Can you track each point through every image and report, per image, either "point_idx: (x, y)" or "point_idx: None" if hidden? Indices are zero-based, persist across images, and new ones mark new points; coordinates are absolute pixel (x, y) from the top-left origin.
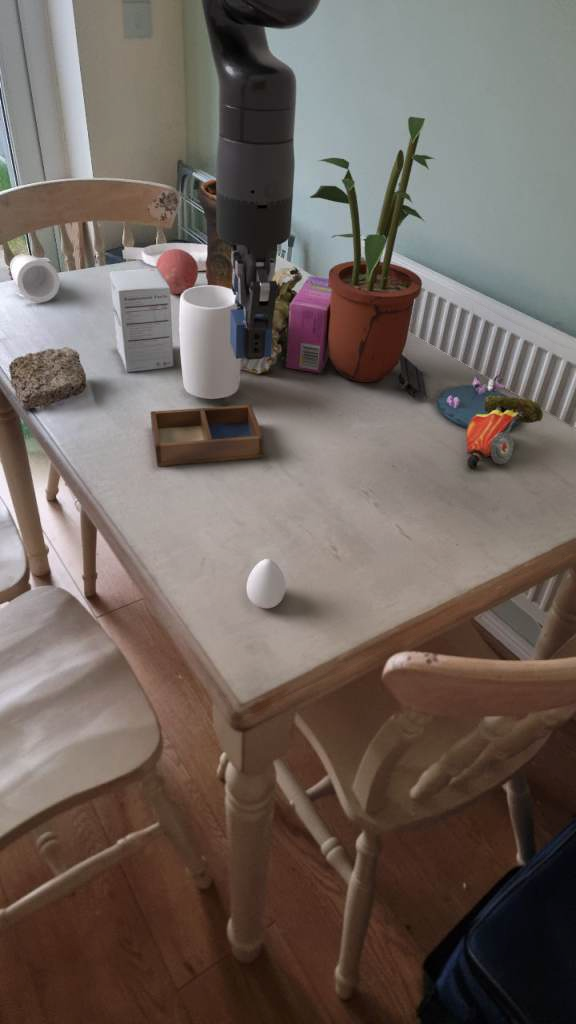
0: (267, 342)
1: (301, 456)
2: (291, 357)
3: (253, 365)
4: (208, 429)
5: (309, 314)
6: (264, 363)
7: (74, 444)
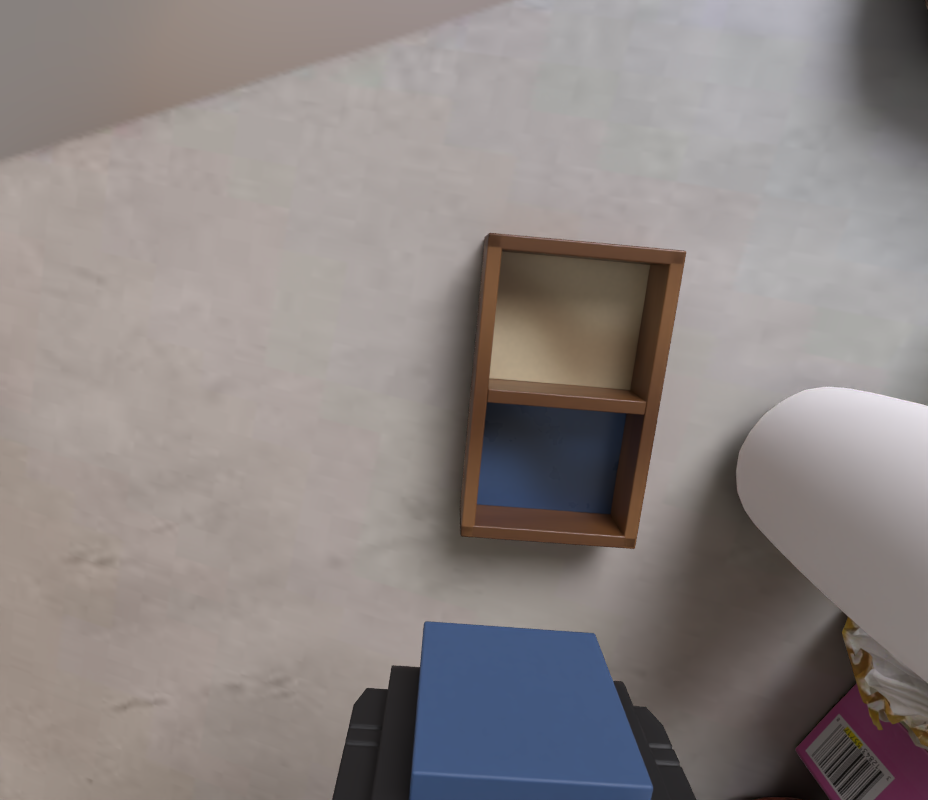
0: None
1: (444, 596)
2: None
3: None
4: (538, 403)
5: None
6: None
7: (658, 3)
